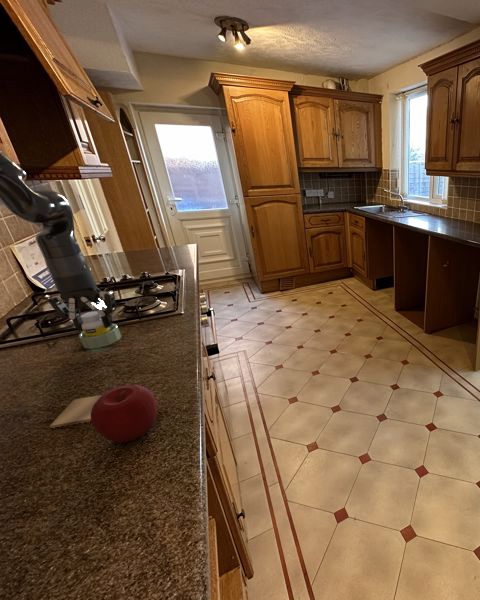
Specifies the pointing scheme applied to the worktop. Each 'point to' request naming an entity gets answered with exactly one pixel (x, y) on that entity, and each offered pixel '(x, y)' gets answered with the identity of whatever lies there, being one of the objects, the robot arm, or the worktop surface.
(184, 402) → the worktop surface
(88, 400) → the board
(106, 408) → the apple
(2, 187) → the robot arm
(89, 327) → the supplement bottle
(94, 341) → the bowl
